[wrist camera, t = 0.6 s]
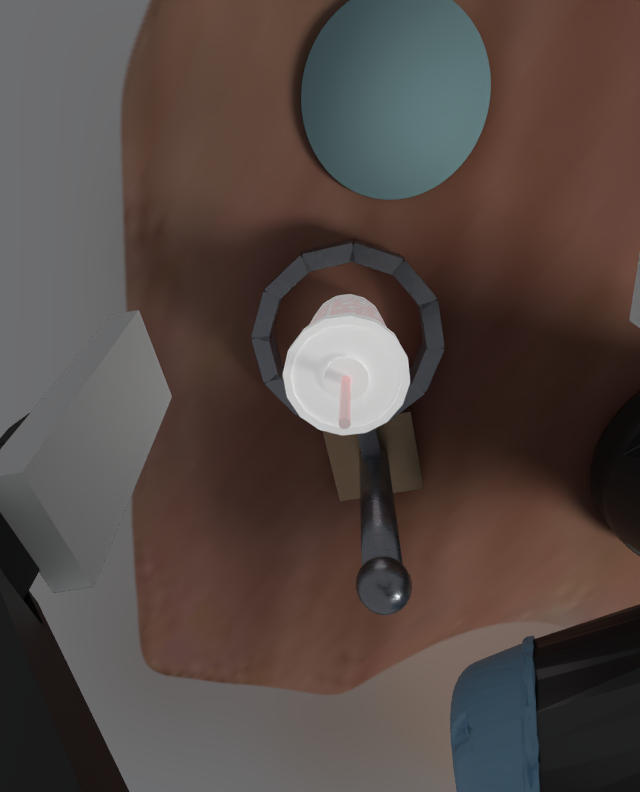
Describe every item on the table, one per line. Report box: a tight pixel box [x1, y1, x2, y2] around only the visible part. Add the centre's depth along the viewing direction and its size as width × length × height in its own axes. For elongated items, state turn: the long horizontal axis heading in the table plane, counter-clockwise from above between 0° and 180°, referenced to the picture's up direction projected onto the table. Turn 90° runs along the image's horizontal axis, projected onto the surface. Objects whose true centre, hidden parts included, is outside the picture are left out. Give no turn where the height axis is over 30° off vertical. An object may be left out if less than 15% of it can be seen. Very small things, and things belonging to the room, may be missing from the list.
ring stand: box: [251, 239, 445, 615], centre depth 27 cm, size 18×11×14 cm, turn 13°
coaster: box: [301, 0, 491, 200], centre depth 27 cm, size 10×10×1 cm
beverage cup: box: [283, 294, 410, 436], centre depth 26 cm, size 6×6×14 cm
